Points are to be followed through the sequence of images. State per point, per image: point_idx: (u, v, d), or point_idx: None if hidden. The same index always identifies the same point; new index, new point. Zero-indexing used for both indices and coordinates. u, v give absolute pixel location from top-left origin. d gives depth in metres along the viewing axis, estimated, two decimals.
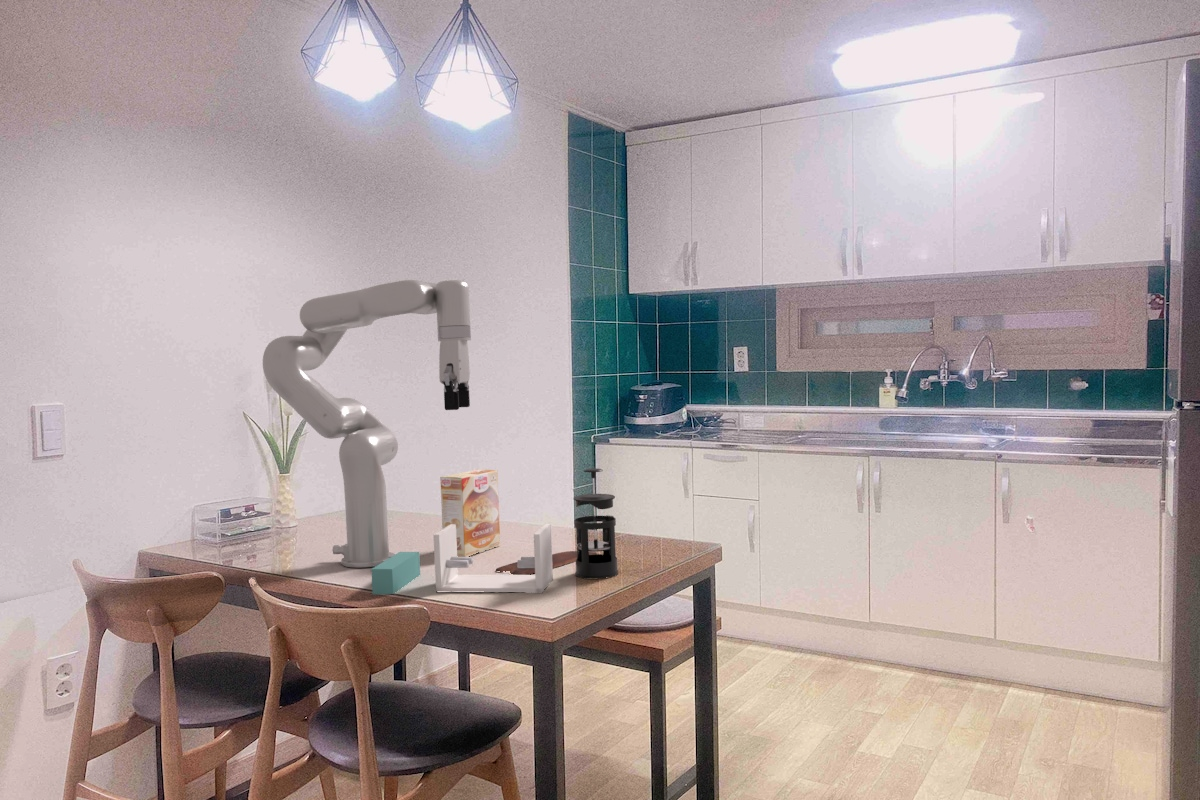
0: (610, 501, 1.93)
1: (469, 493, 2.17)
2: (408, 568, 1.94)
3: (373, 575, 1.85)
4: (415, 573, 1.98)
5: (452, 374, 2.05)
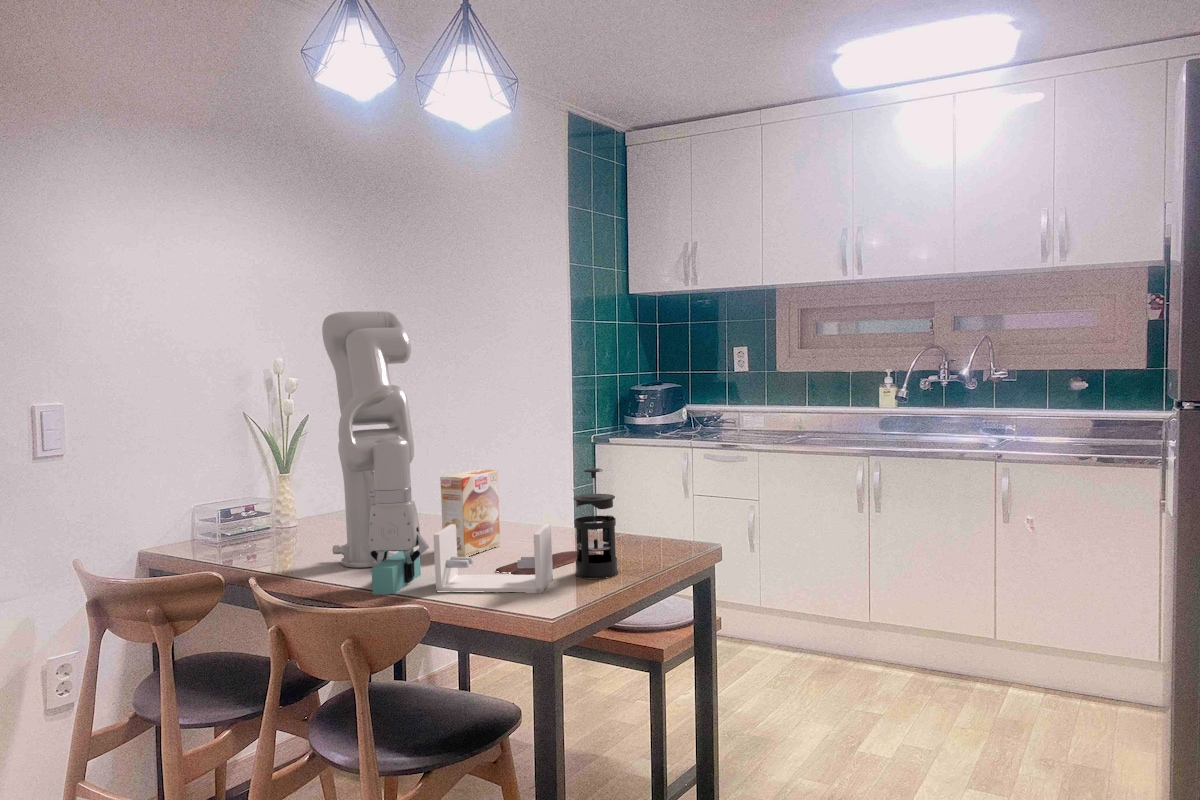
0: (610, 501, 1.93)
1: (469, 493, 2.17)
2: None
3: (373, 574, 1.85)
4: (415, 572, 1.97)
5: None
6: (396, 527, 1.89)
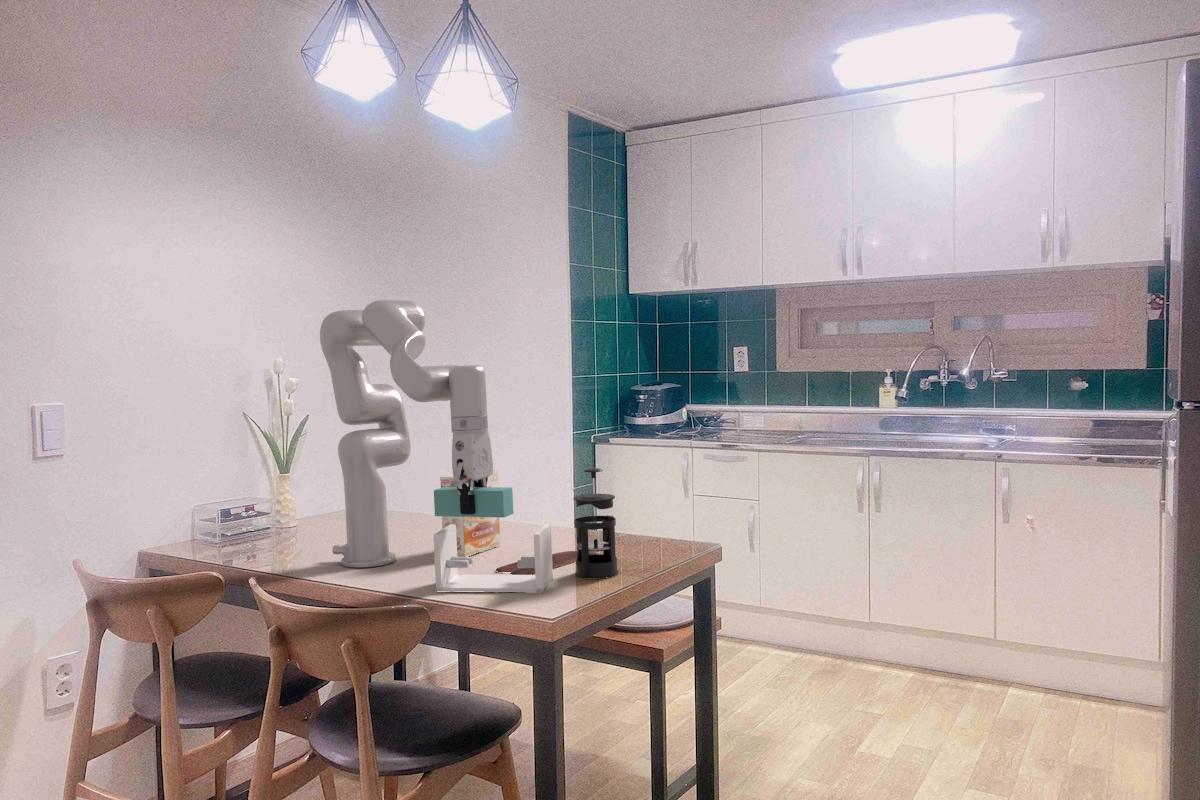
0: (610, 501, 1.93)
1: None
2: None
3: (504, 496, 1.84)
4: None
5: None
6: (486, 453, 1.88)
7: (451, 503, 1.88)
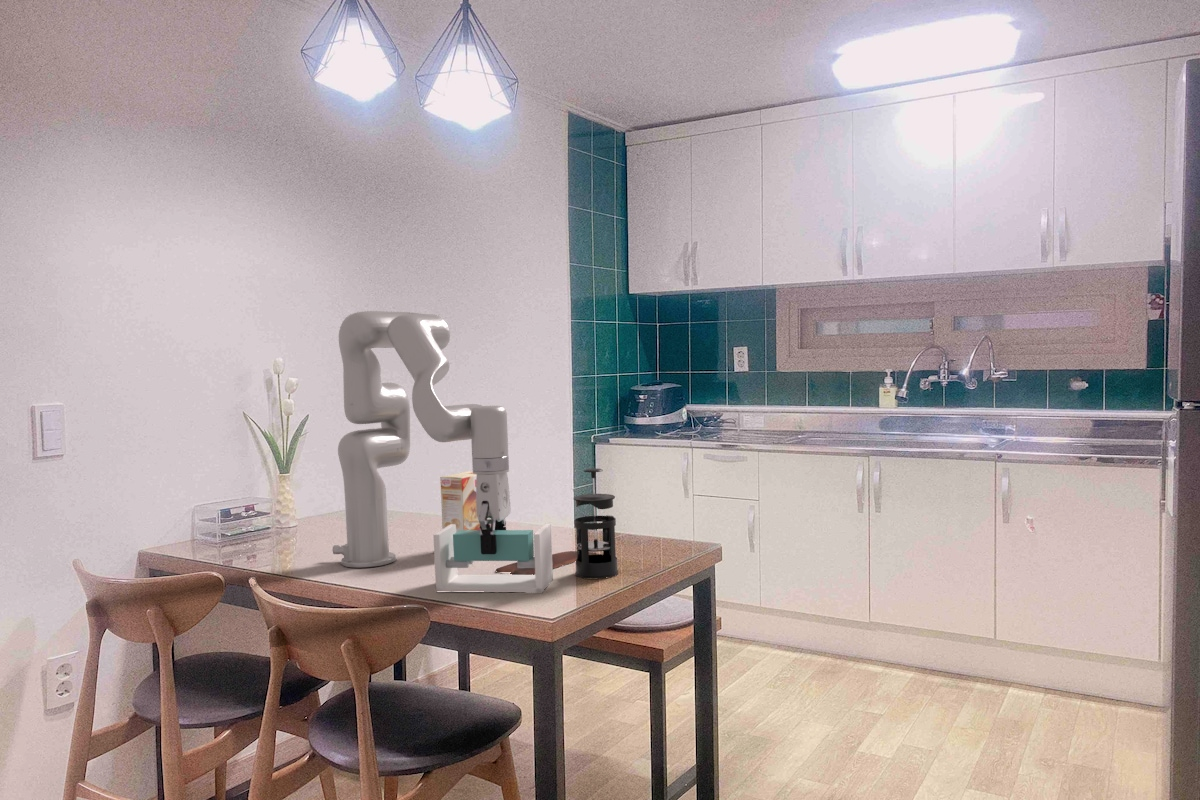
0: (610, 501, 1.93)
1: (469, 493, 2.17)
2: None
3: (528, 540, 1.85)
4: None
5: None
6: (506, 493, 1.89)
7: (472, 547, 1.87)
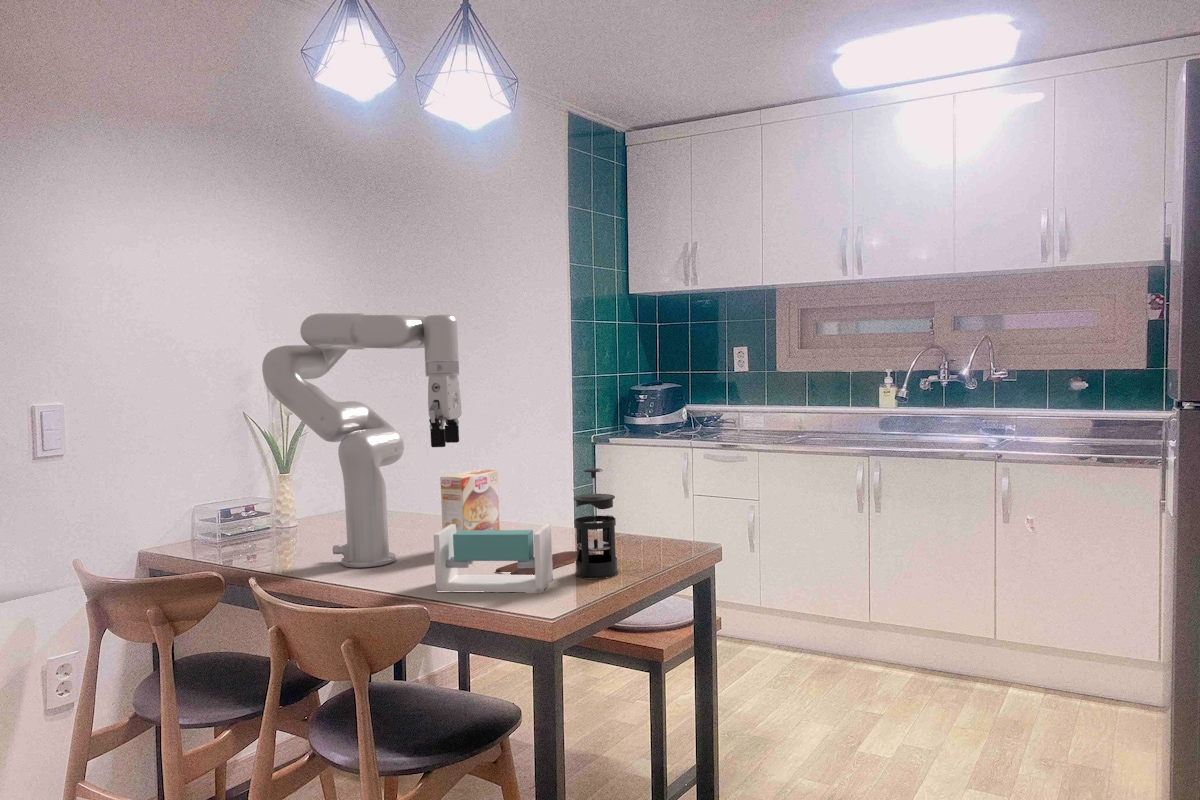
0: (610, 501, 1.93)
1: (469, 493, 2.17)
2: None
3: (528, 540, 1.85)
4: None
5: None
6: (457, 395, 2.06)
7: (472, 547, 1.87)
